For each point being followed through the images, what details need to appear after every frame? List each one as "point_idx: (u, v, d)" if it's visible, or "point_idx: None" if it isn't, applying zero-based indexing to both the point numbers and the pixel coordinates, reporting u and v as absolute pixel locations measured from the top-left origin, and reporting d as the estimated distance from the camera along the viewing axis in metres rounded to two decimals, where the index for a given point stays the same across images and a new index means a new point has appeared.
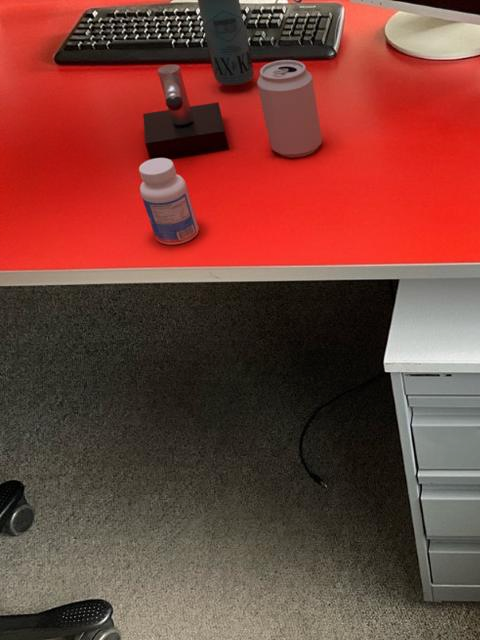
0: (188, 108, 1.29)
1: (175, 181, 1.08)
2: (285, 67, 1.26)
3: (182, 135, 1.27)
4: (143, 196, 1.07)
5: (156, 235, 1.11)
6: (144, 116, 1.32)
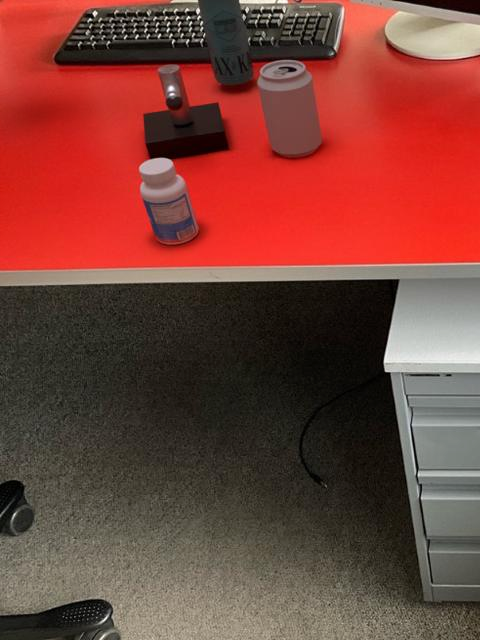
0: (188, 108, 1.29)
1: (175, 181, 1.08)
2: (285, 67, 1.26)
3: (182, 135, 1.27)
4: (143, 196, 1.07)
5: (156, 235, 1.11)
6: (144, 116, 1.32)
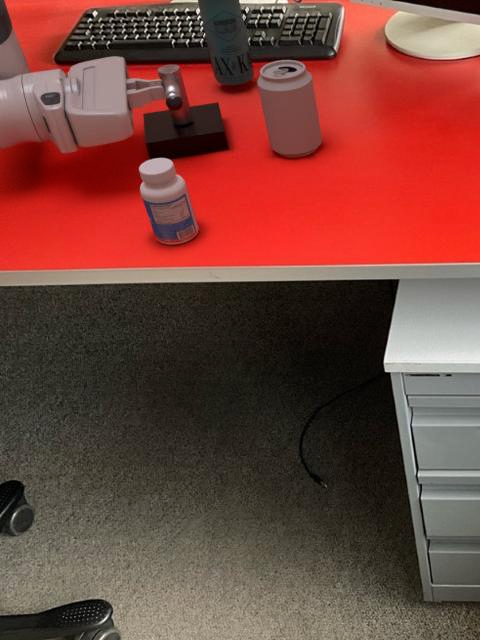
0: (188, 108, 1.29)
1: (175, 181, 1.08)
2: (285, 67, 1.26)
3: (182, 135, 1.27)
4: (143, 196, 1.07)
5: (156, 235, 1.11)
6: (144, 116, 1.32)
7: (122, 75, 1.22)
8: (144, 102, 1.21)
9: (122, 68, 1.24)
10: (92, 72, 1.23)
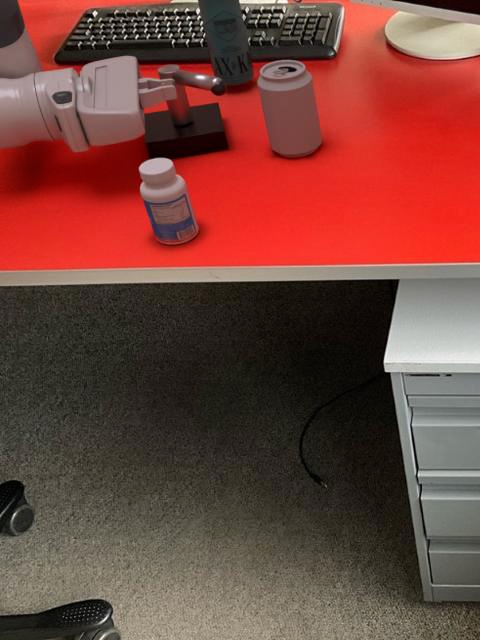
0: (189, 105, 1.30)
1: (175, 181, 1.08)
2: (285, 67, 1.26)
3: (182, 135, 1.27)
4: (143, 196, 1.07)
5: (156, 235, 1.11)
6: None
7: (134, 75, 1.22)
8: (156, 101, 1.21)
9: (134, 67, 1.24)
10: (104, 72, 1.23)
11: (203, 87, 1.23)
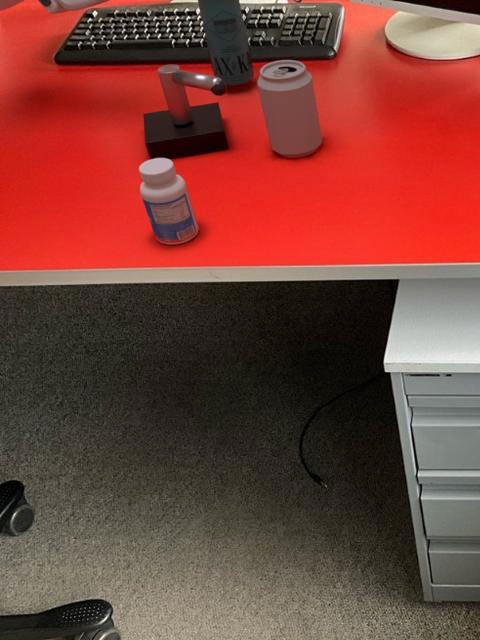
0: None
1: (175, 181, 1.08)
2: (285, 67, 1.26)
3: (182, 135, 1.27)
4: (143, 196, 1.07)
5: (156, 235, 1.11)
6: (144, 116, 1.32)
7: None
8: None
9: None
10: None
11: (203, 87, 1.23)
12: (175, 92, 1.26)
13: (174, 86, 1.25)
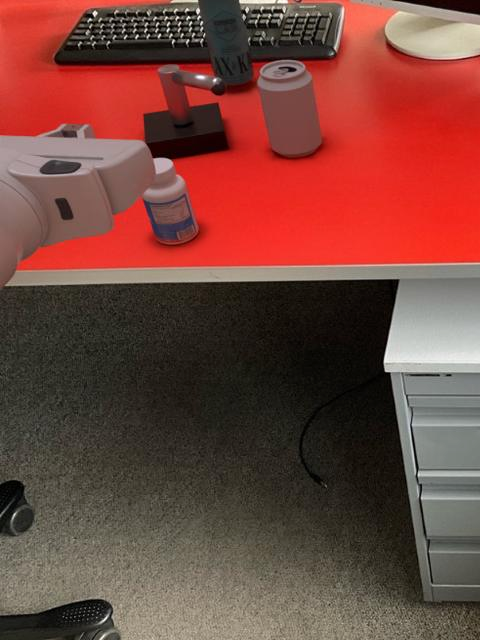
0: None
1: (175, 181, 1.08)
2: (285, 67, 1.26)
3: (182, 135, 1.27)
4: (143, 196, 1.07)
5: (156, 235, 1.11)
6: (144, 116, 1.32)
7: (28, 136, 0.86)
8: None
9: (2, 135, 0.87)
10: None
11: (203, 87, 1.23)
12: (175, 92, 1.26)
13: (174, 86, 1.25)
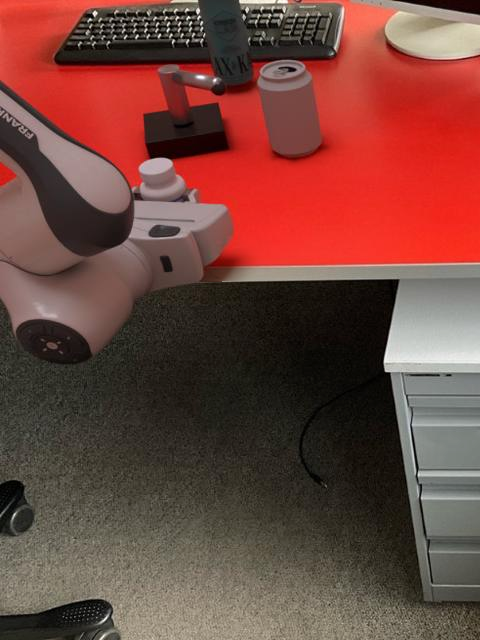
0: None
1: (175, 181, 1.08)
2: (285, 67, 1.26)
3: (182, 135, 1.27)
4: (143, 196, 1.07)
5: None
6: (144, 116, 1.32)
7: None
8: None
9: None
10: None
11: (203, 87, 1.23)
12: (175, 92, 1.26)
13: (174, 86, 1.25)
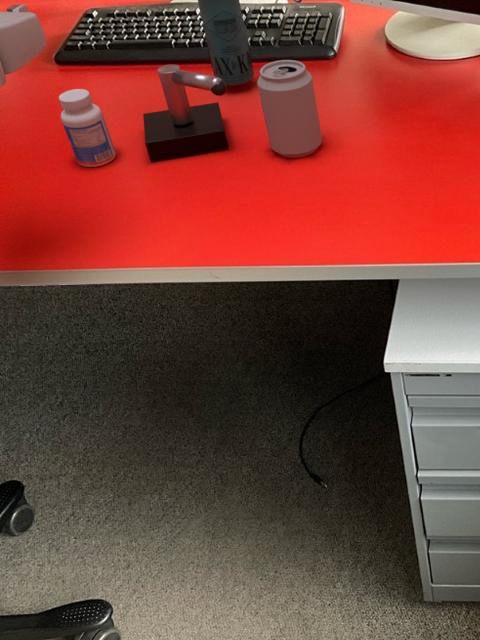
0: None
1: (91, 109, 1.23)
2: (285, 67, 1.26)
3: (182, 135, 1.27)
4: (63, 122, 1.23)
5: (77, 158, 1.27)
6: (144, 116, 1.32)
7: None
8: None
9: None
10: None
11: (203, 87, 1.23)
12: (175, 92, 1.26)
13: (174, 86, 1.25)
